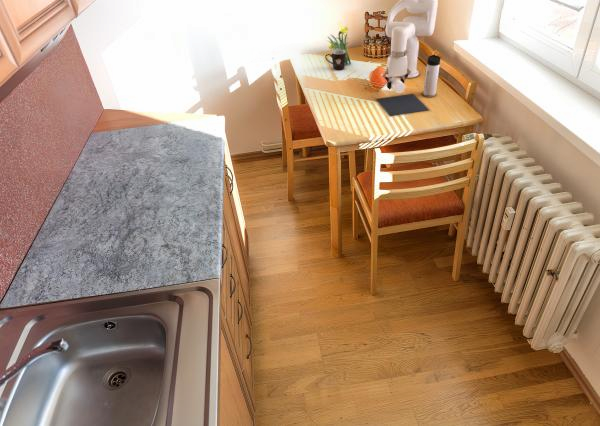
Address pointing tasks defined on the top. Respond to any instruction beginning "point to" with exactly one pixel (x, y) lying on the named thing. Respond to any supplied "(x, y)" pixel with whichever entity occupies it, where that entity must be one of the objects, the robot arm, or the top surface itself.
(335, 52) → the coffee mug
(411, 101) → the slate mat
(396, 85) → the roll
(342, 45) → the daffodil flowers
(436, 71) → the travel mug
